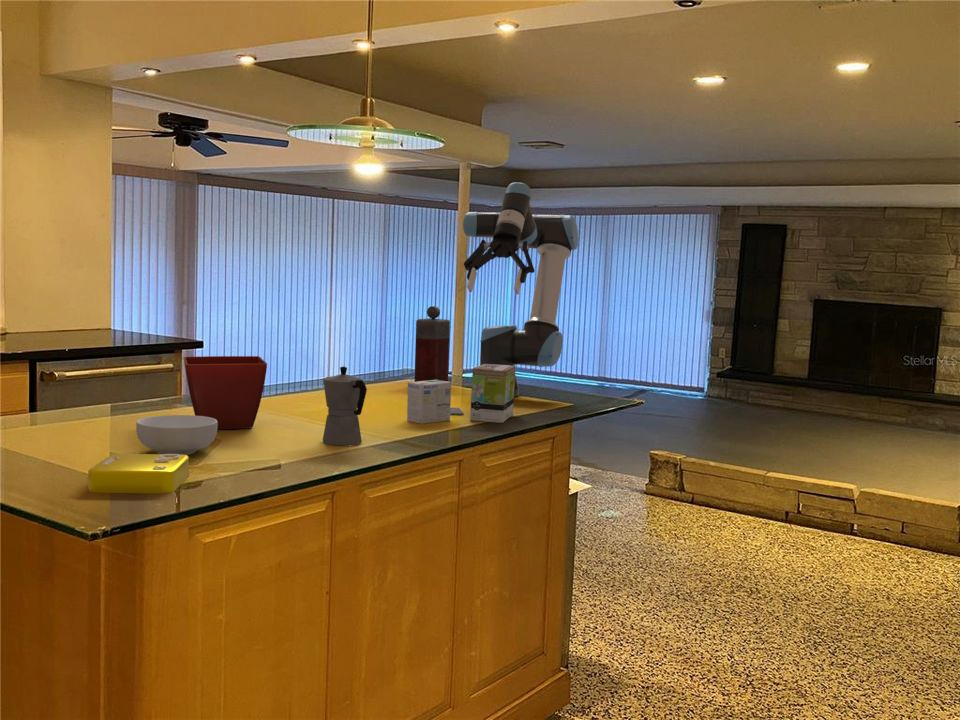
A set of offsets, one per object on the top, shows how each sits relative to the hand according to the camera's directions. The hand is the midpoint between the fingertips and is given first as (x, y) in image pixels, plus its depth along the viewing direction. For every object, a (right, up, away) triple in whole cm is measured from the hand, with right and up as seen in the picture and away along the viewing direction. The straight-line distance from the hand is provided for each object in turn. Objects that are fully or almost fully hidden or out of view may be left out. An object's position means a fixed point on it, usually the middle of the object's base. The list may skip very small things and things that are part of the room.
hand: (492, 290), depth 241 cm
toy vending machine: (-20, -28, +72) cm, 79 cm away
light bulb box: (-18, -36, -1) cm, 40 cm away
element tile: (-67, -43, -77) cm, 111 cm away
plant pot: (-68, -36, -18) cm, 79 cm away
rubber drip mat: (-16, -34, +14) cm, 40 cm away
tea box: (0, -36, +7) cm, 36 cm away
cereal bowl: (-69, -39, -50) cm, 94 cm away
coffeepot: (-35, -39, -35) cm, 63 cm away
